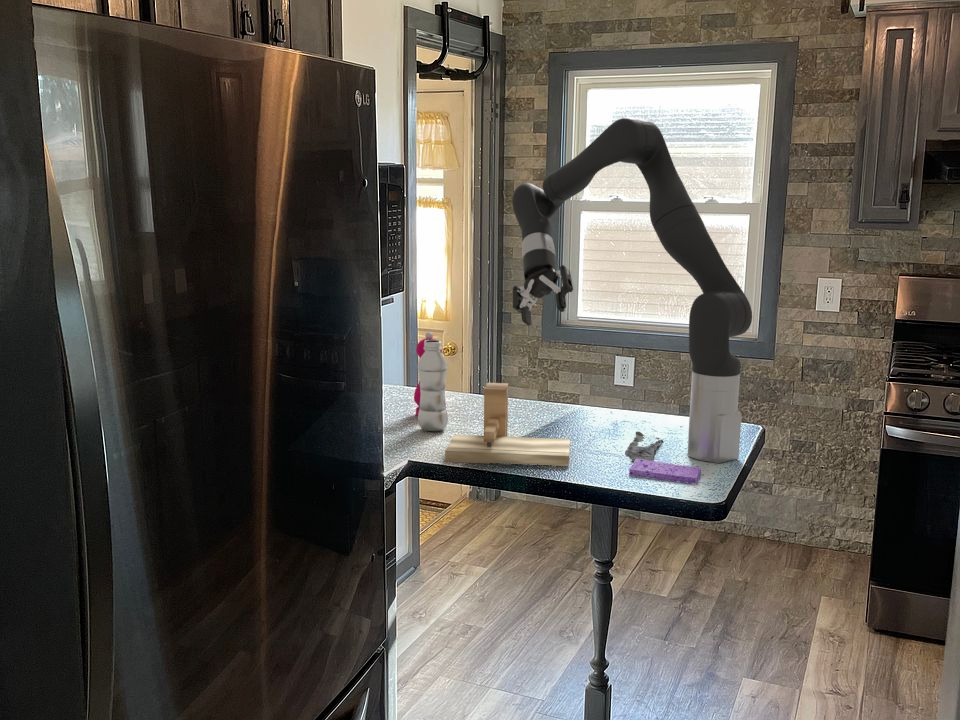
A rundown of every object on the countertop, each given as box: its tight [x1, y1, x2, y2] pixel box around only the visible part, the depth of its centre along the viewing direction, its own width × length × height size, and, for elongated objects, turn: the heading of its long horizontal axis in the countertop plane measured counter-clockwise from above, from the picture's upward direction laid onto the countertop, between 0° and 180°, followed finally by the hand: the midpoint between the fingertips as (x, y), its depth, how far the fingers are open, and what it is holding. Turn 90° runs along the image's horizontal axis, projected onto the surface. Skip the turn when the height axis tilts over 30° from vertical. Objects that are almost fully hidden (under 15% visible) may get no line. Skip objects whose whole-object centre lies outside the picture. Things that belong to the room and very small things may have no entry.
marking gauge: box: [483, 382, 509, 448], centre depth 178 cm, size 18×4×12 cm, turn 174°
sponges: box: [628, 459, 702, 484], centre depth 164 cm, size 7×13×2 cm, turn 68°
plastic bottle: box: [417, 339, 449, 432], centre depth 191 cm, size 6×7×20 cm
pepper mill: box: [413, 331, 443, 418], centre depth 204 cm, size 7×7×20 cm
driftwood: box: [624, 431, 664, 463], centre depth 180 cm, size 21×7×2 cm, turn 160°
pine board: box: [444, 434, 571, 467], centre depth 175 cm, size 12×24×2 cm, turn 83°
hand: (544, 317), depth 190 cm, fingers open, 8 cm apart
